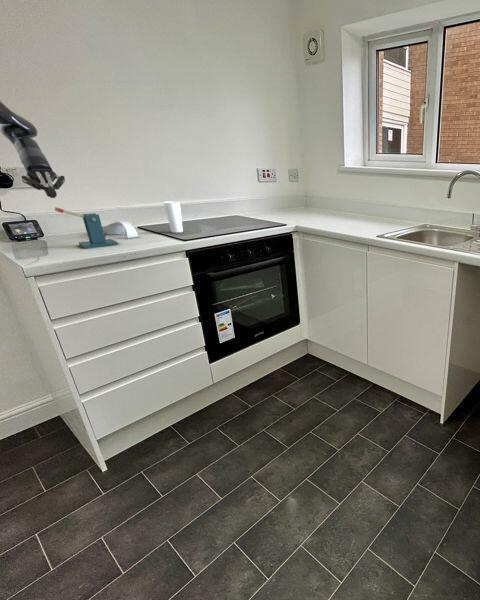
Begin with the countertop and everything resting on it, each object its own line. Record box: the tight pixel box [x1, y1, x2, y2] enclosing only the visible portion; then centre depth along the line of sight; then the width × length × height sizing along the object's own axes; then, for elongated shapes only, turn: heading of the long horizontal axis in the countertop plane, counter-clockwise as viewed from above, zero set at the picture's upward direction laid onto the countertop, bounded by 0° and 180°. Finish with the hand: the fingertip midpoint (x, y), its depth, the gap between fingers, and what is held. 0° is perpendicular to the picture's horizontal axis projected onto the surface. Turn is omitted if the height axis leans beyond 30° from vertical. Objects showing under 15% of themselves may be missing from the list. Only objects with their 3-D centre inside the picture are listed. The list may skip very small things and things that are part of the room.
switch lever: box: [54, 207, 85, 219], centre depth 141 cm, size 12×6×2 cm, turn 143°
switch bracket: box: [77, 212, 119, 249], centre depth 147 cm, size 11×9×13 cm
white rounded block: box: [102, 220, 139, 239], centre depth 167 cm, size 24×12×7 cm, turn 61°
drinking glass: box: [163, 201, 184, 234], centre depth 177 cm, size 7×7×15 cm
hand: (53, 196), depth 137 cm, fingers closed
